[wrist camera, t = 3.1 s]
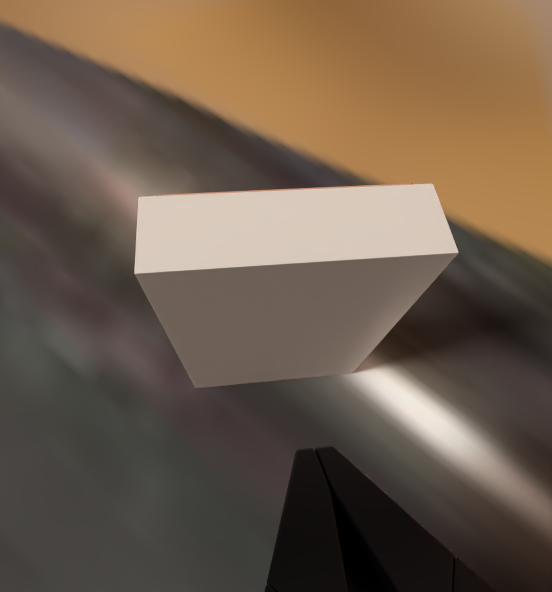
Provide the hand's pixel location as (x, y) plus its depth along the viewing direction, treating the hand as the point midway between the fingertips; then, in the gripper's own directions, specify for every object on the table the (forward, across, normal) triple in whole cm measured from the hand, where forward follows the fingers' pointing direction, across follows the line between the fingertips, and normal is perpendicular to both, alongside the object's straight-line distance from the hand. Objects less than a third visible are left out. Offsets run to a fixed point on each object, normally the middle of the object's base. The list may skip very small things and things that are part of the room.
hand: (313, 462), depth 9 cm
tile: (+9, 0, +2) cm, 9 cm away
